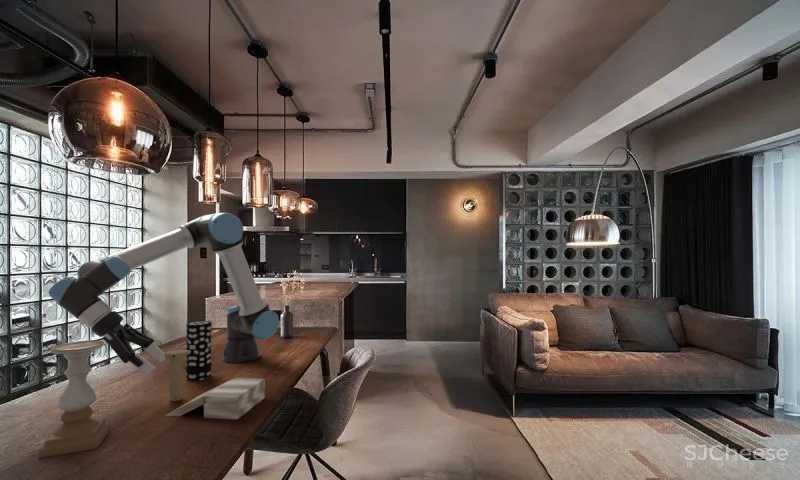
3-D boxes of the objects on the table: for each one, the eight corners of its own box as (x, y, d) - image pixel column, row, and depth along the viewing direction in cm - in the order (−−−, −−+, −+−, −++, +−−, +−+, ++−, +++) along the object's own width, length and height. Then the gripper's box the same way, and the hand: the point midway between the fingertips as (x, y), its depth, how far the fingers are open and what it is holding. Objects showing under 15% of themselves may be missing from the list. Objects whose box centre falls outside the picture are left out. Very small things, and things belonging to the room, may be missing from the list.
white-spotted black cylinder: (189, 382, 137) (189, 326, 138) (183, 377, 144) (183, 323, 144) (214, 377, 143) (214, 323, 144) (207, 372, 149) (208, 320, 150)
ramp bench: (200, 400, 126) (201, 376, 126) (264, 403, 123) (264, 378, 123) (164, 421, 110) (165, 394, 110) (237, 425, 107) (237, 397, 107)
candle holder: (37, 458, 87) (39, 352, 88) (57, 437, 97) (59, 342, 98) (97, 448, 92) (98, 347, 92) (110, 429, 102) (111, 337, 102)
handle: (184, 401, 120) (185, 353, 120) (161, 403, 119) (162, 354, 119) (189, 396, 125) (190, 349, 125) (167, 397, 123) (168, 350, 124)
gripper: (109, 321, 127) (160, 363, 131) (69, 337, 103) (133, 388, 107) (128, 304, 129) (178, 346, 133) (93, 316, 105) (155, 367, 109)
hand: (158, 365), depth 120 cm, fingers open, 13 cm apart
